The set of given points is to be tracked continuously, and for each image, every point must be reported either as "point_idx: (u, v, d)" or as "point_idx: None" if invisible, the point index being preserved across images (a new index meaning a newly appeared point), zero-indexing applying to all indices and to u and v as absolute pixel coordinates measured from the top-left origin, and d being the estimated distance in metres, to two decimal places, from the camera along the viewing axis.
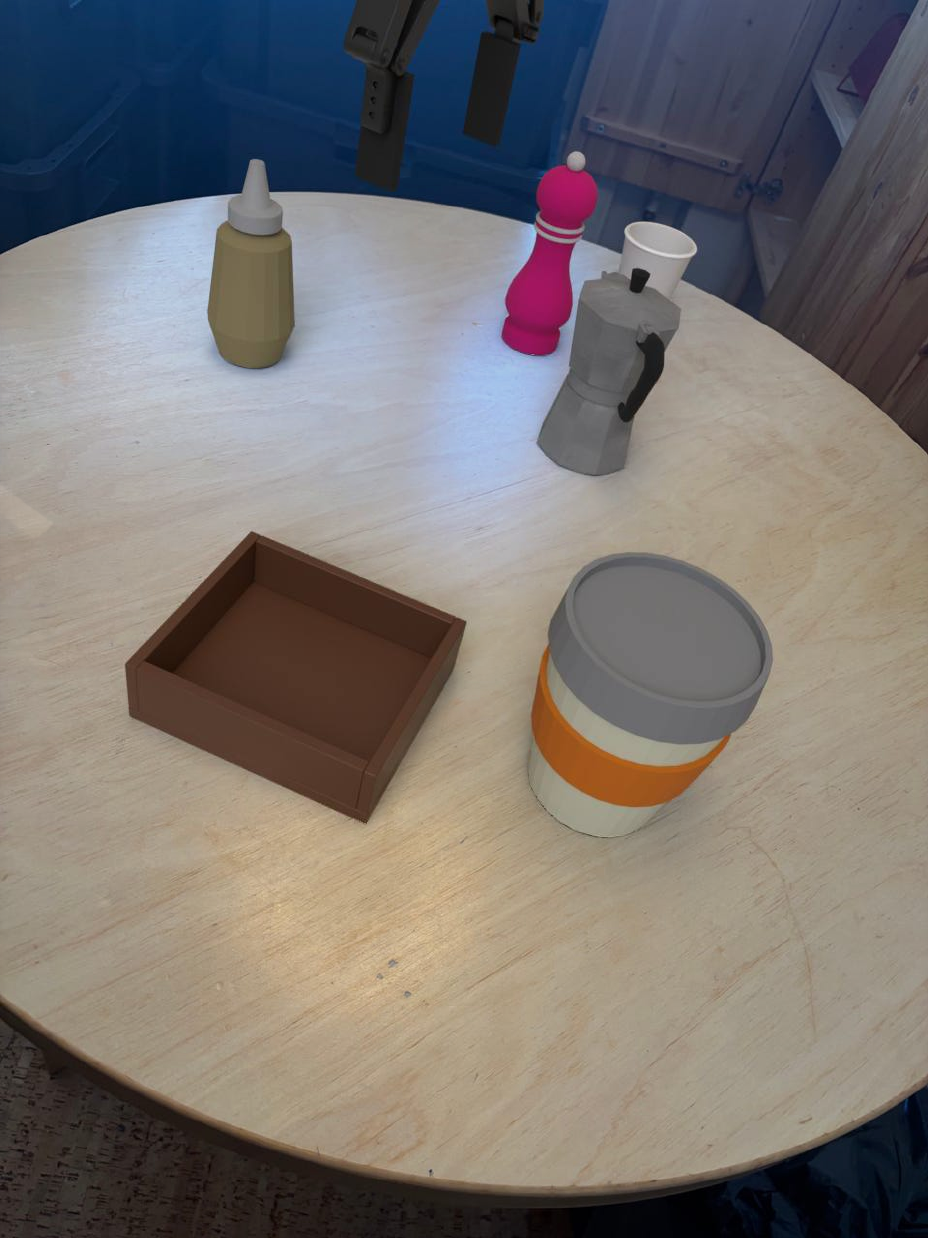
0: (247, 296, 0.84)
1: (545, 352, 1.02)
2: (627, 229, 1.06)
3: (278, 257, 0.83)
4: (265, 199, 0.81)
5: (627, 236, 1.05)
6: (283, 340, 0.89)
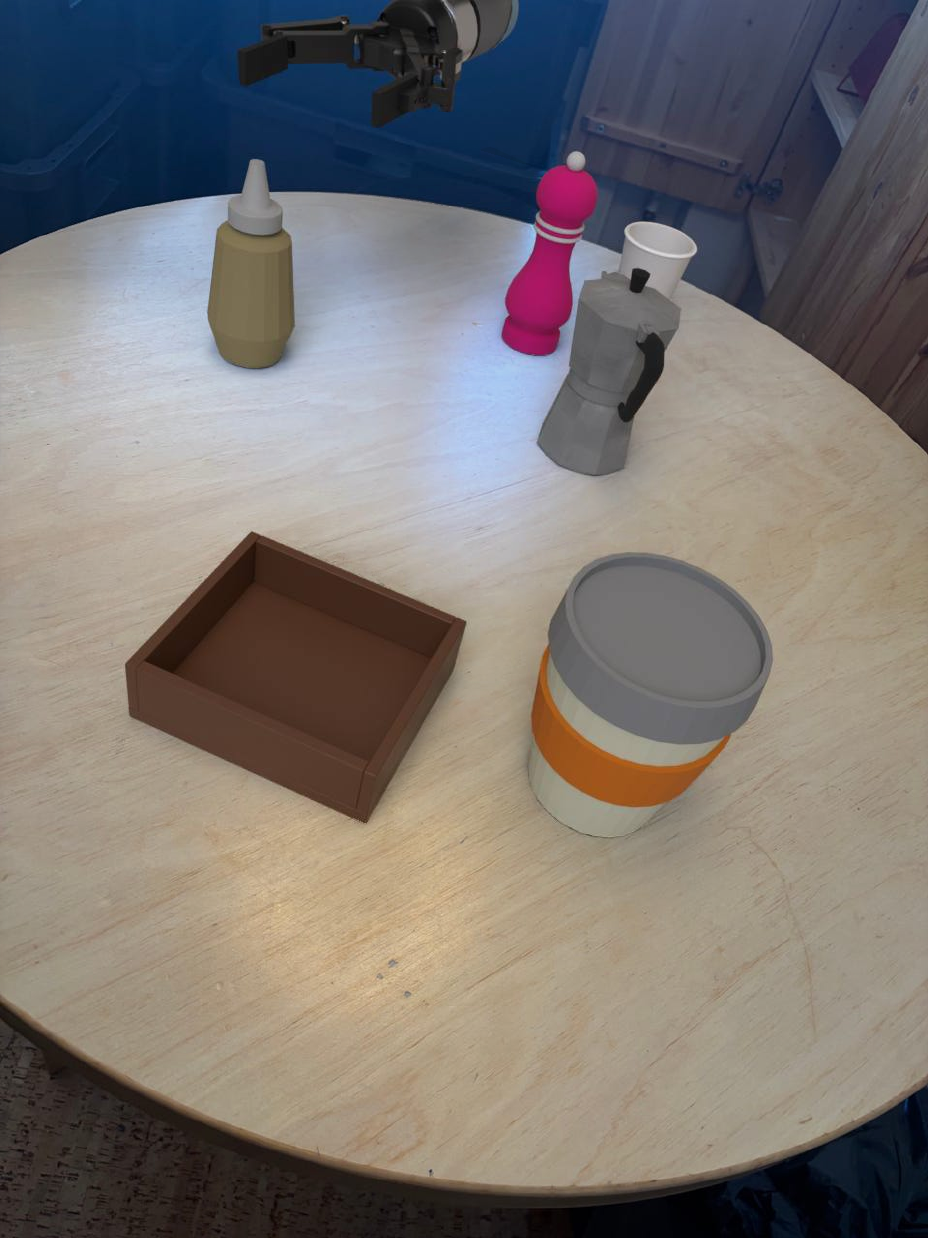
0: (247, 296, 0.84)
1: (545, 352, 1.02)
2: (627, 229, 1.06)
3: (278, 257, 0.83)
4: (265, 199, 0.81)
5: (627, 236, 1.05)
6: (283, 340, 0.89)
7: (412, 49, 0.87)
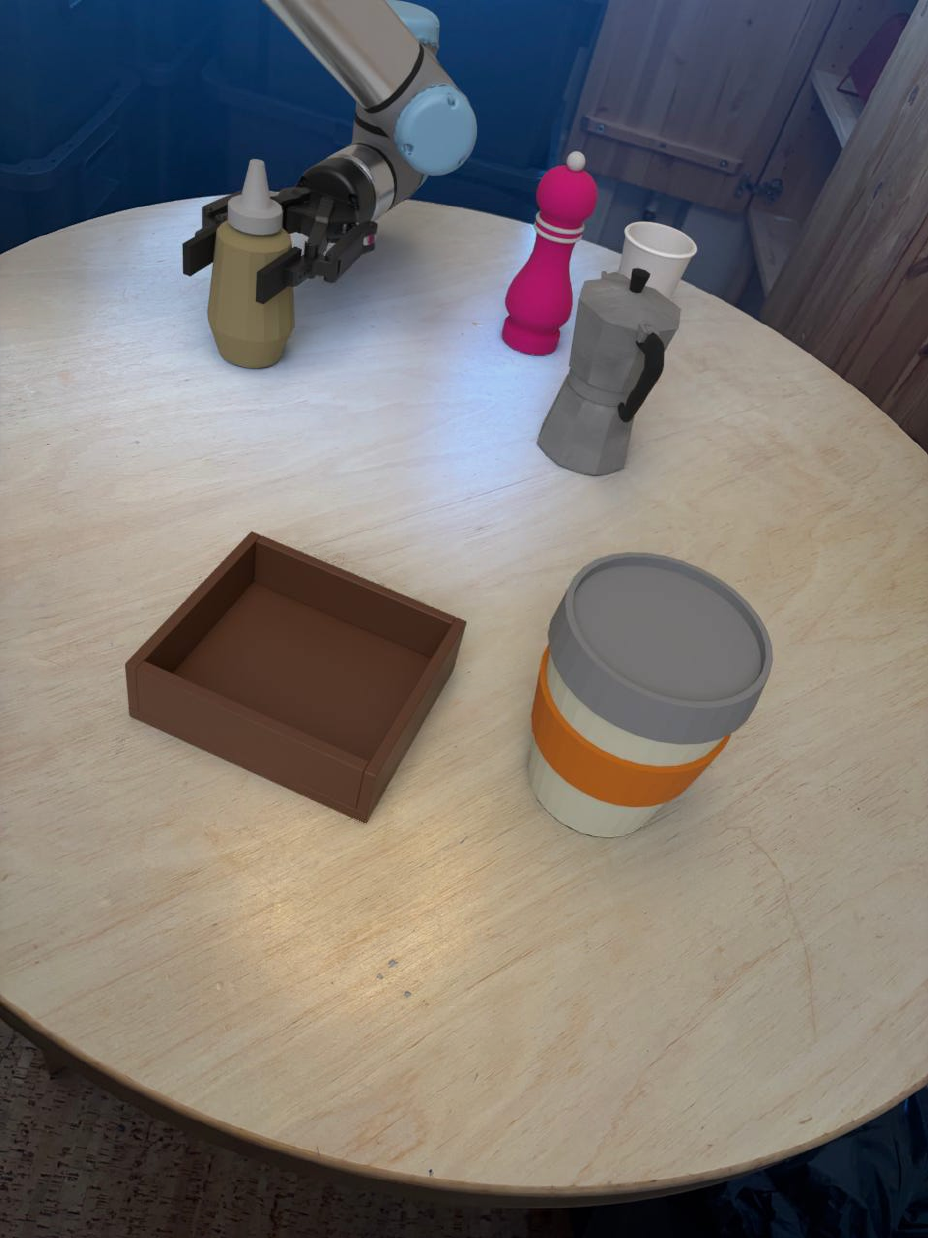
0: (247, 296, 0.84)
1: (545, 352, 1.02)
2: (627, 229, 1.06)
3: None
4: (265, 199, 0.81)
5: (627, 236, 1.05)
6: (283, 340, 0.89)
7: (320, 219, 0.89)
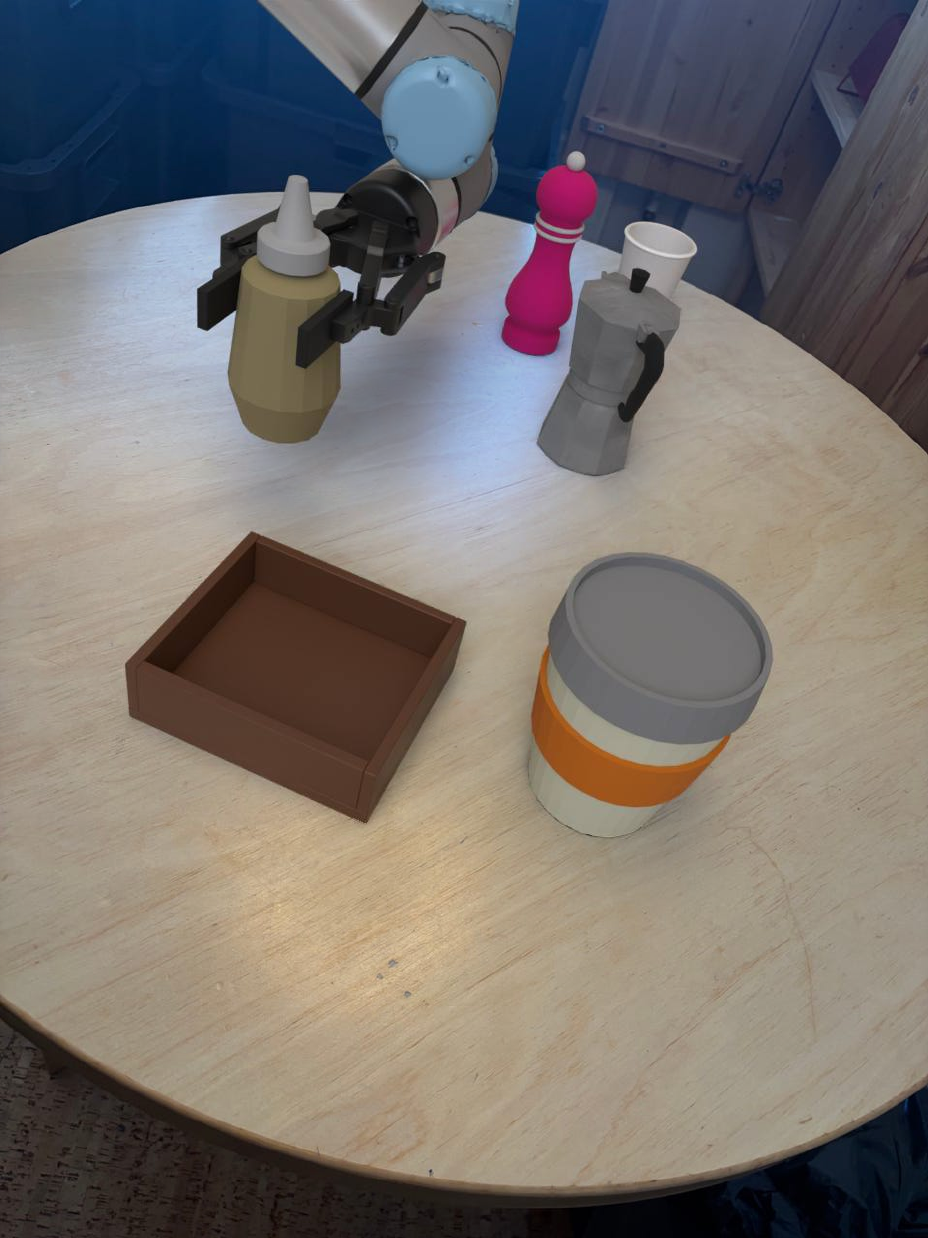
0: (282, 356, 0.63)
1: (545, 352, 1.02)
2: (627, 229, 1.06)
3: None
4: (308, 229, 0.60)
5: (627, 236, 1.05)
6: (327, 408, 0.68)
7: (374, 250, 0.69)
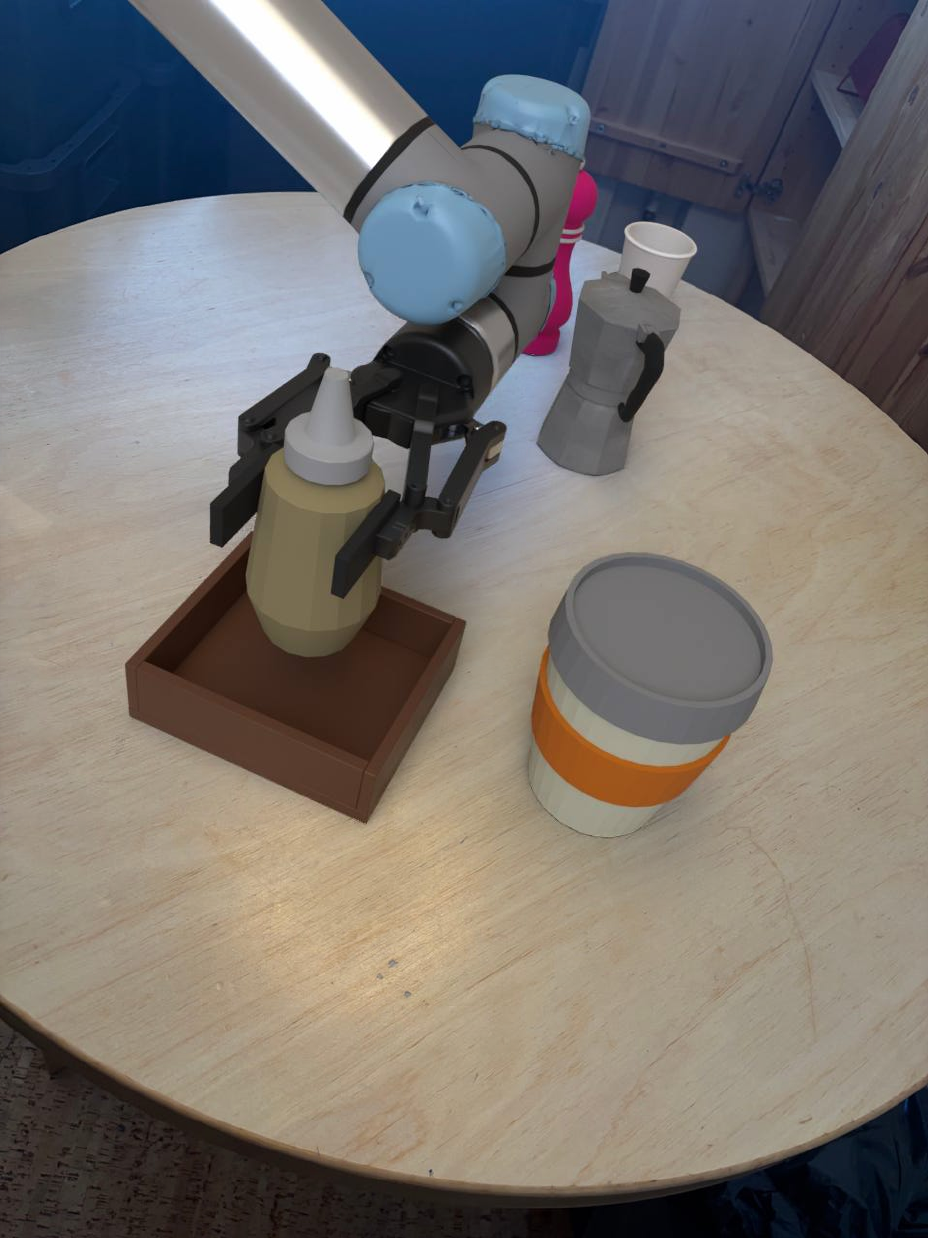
0: (314, 573, 0.52)
1: (545, 352, 1.02)
2: (627, 229, 1.06)
3: (366, 515, 0.51)
4: (347, 429, 0.49)
5: (627, 236, 1.05)
6: (365, 618, 0.57)
7: (422, 426, 0.57)
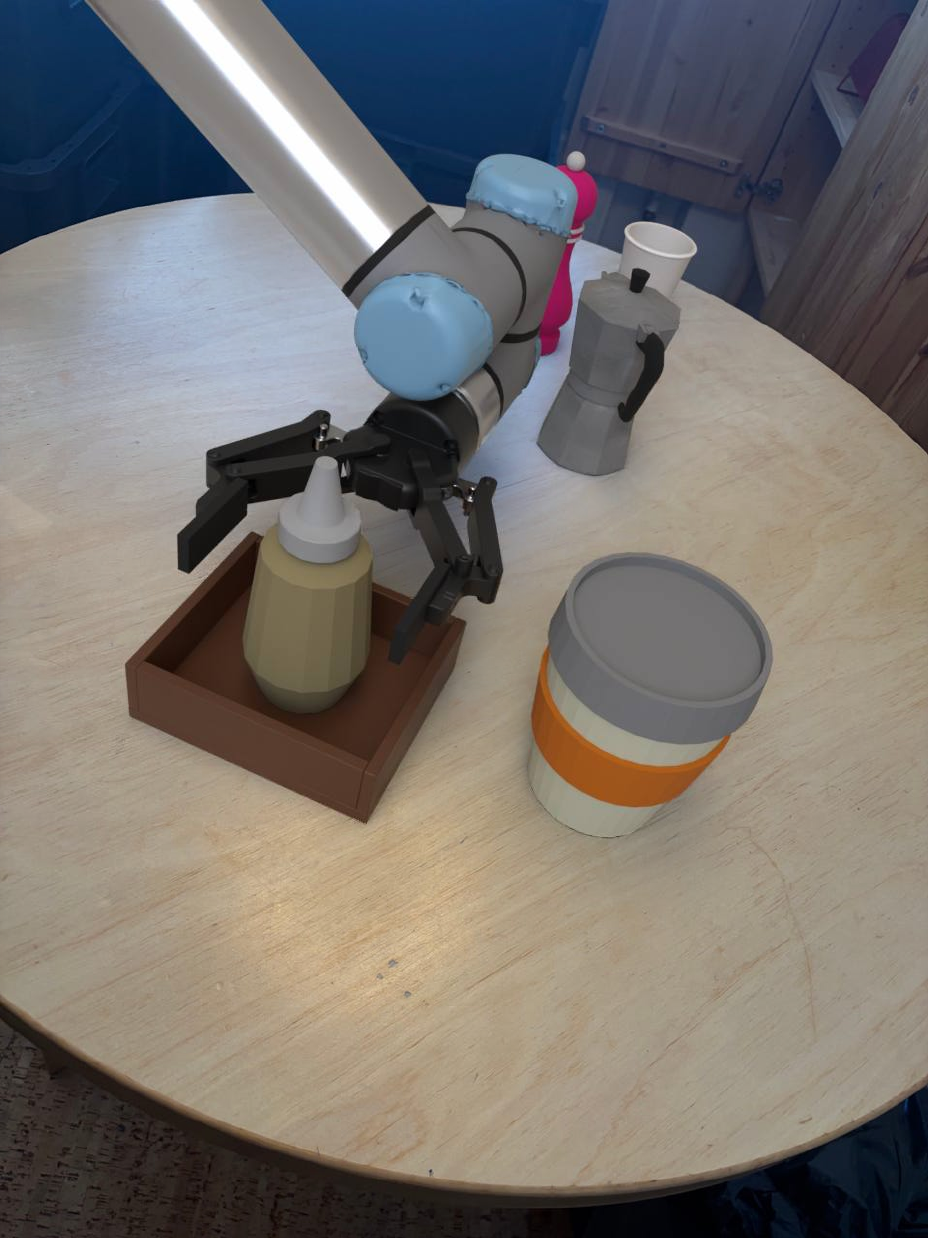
0: (306, 642, 0.55)
1: (545, 352, 1.02)
2: (627, 229, 1.06)
3: (354, 589, 0.54)
4: (337, 512, 0.52)
5: (627, 236, 1.05)
6: (354, 678, 0.60)
7: (431, 494, 0.61)
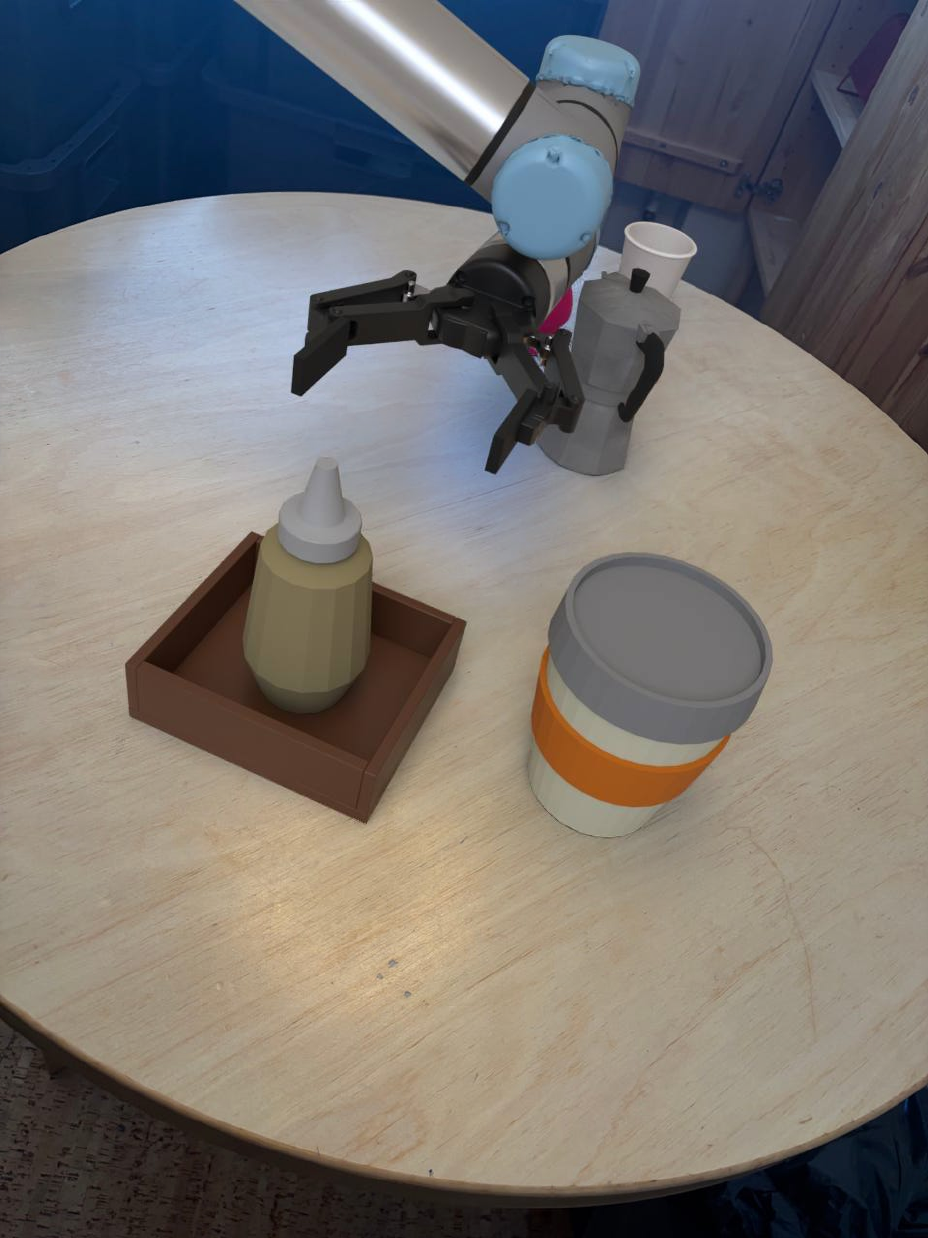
0: (306, 642, 0.55)
1: None
2: (627, 229, 1.06)
3: (354, 589, 0.54)
4: (337, 512, 0.52)
5: (627, 236, 1.05)
6: (354, 678, 0.60)
7: (514, 338, 0.66)
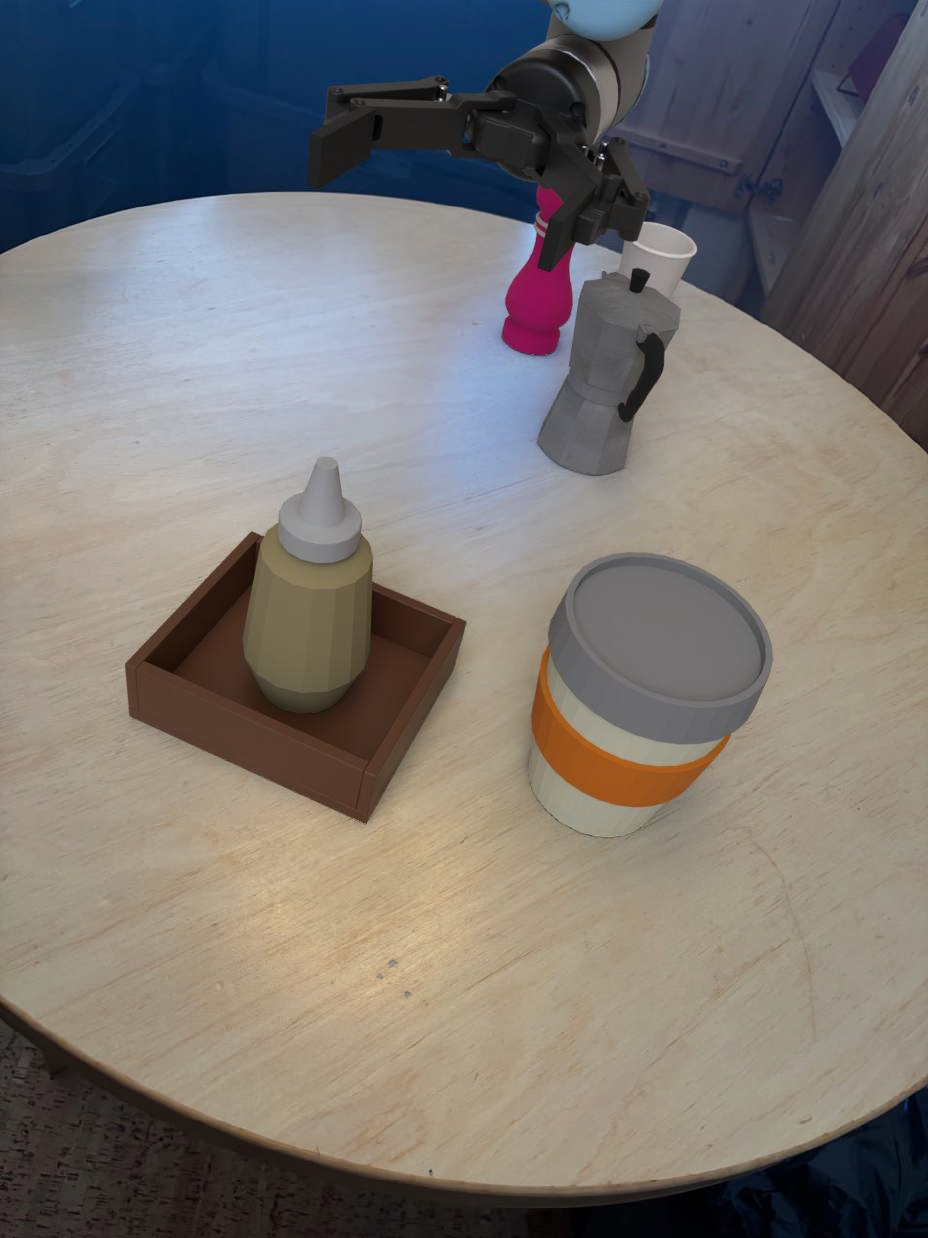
0: (306, 642, 0.55)
1: (545, 352, 1.02)
2: None
3: (354, 589, 0.54)
4: (337, 512, 0.52)
5: None
6: (354, 678, 0.60)
7: (565, 139, 0.57)
